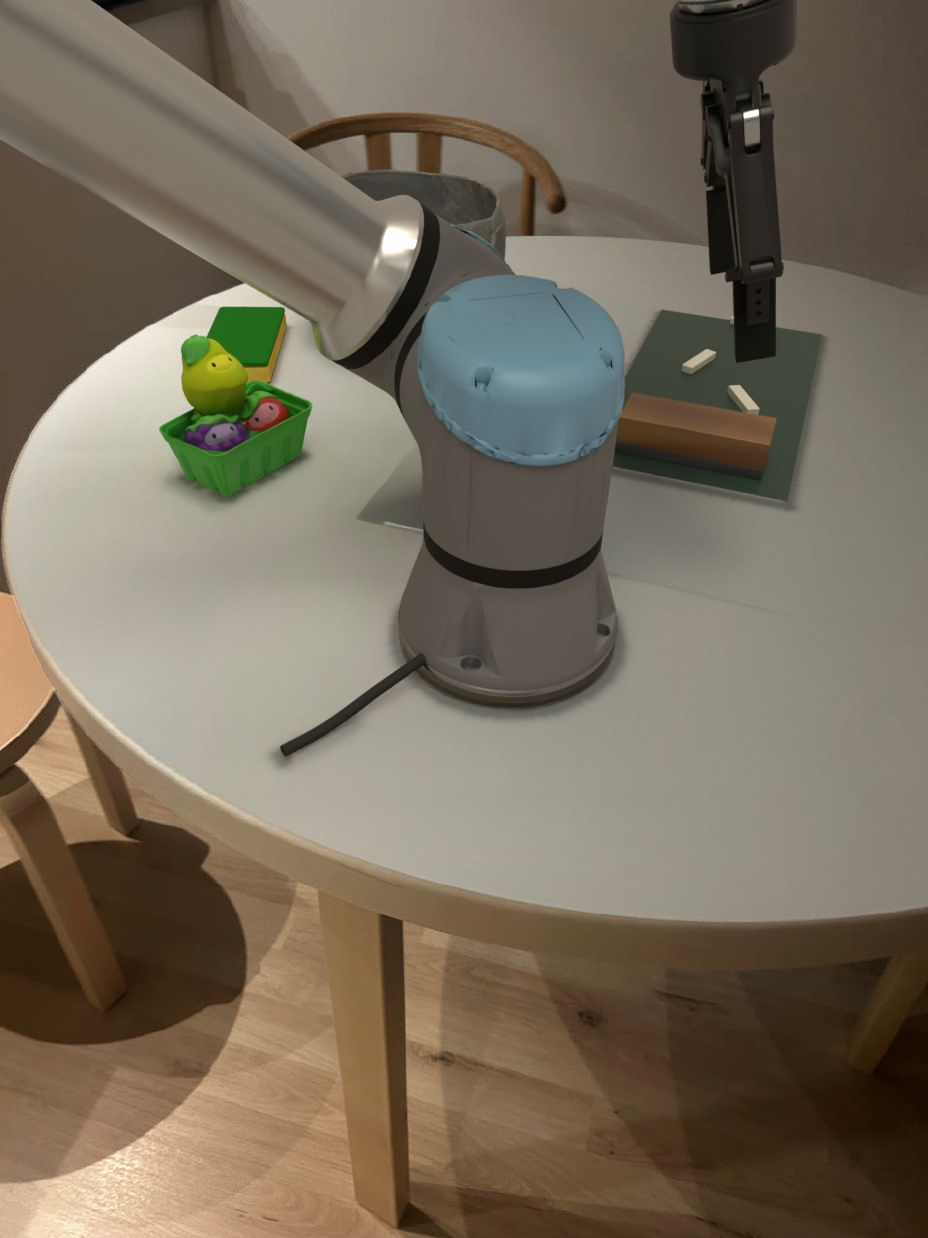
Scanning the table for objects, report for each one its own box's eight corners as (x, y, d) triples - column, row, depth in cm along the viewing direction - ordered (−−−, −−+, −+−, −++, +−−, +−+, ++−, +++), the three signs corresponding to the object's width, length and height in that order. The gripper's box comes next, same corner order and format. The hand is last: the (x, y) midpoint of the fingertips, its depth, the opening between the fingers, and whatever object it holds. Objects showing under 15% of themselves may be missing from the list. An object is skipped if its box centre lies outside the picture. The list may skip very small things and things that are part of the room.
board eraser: (761, 480, 83) (770, 444, 81) (614, 451, 86) (619, 416, 84) (768, 452, 87) (776, 417, 84) (627, 426, 90) (631, 392, 88)
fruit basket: (226, 511, 79) (203, 385, 72) (156, 475, 83) (128, 352, 76) (322, 455, 86) (310, 335, 79) (253, 424, 90) (236, 308, 83)
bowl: (307, 376, 98) (292, 225, 88) (323, 297, 113) (311, 161, 104) (507, 375, 99) (514, 225, 89) (496, 297, 114) (501, 162, 104)
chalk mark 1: (758, 416, 92) (759, 408, 91) (746, 416, 92) (747, 409, 91) (738, 391, 95) (739, 384, 95) (726, 392, 95) (728, 385, 95)
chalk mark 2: (691, 374, 98) (692, 367, 98) (681, 371, 99) (682, 363, 98) (715, 358, 101) (716, 351, 101) (705, 355, 102) (706, 348, 101)
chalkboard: (786, 506, 81) (787, 501, 81) (580, 464, 85) (580, 459, 85) (820, 338, 107) (822, 333, 106) (660, 313, 111) (661, 309, 111)
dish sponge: (198, 383, 96) (194, 361, 95) (223, 326, 107) (220, 305, 105) (269, 384, 96) (267, 361, 95) (287, 326, 107) (285, 305, 105)
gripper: (844, 33, 49) (828, 391, 63) (760, -69, 66) (763, 230, 81) (693, 68, 50) (711, 410, 65) (651, -41, 68) (672, 247, 82)
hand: (740, 310), depth 73 cm, fingers open, 13 cm apart
